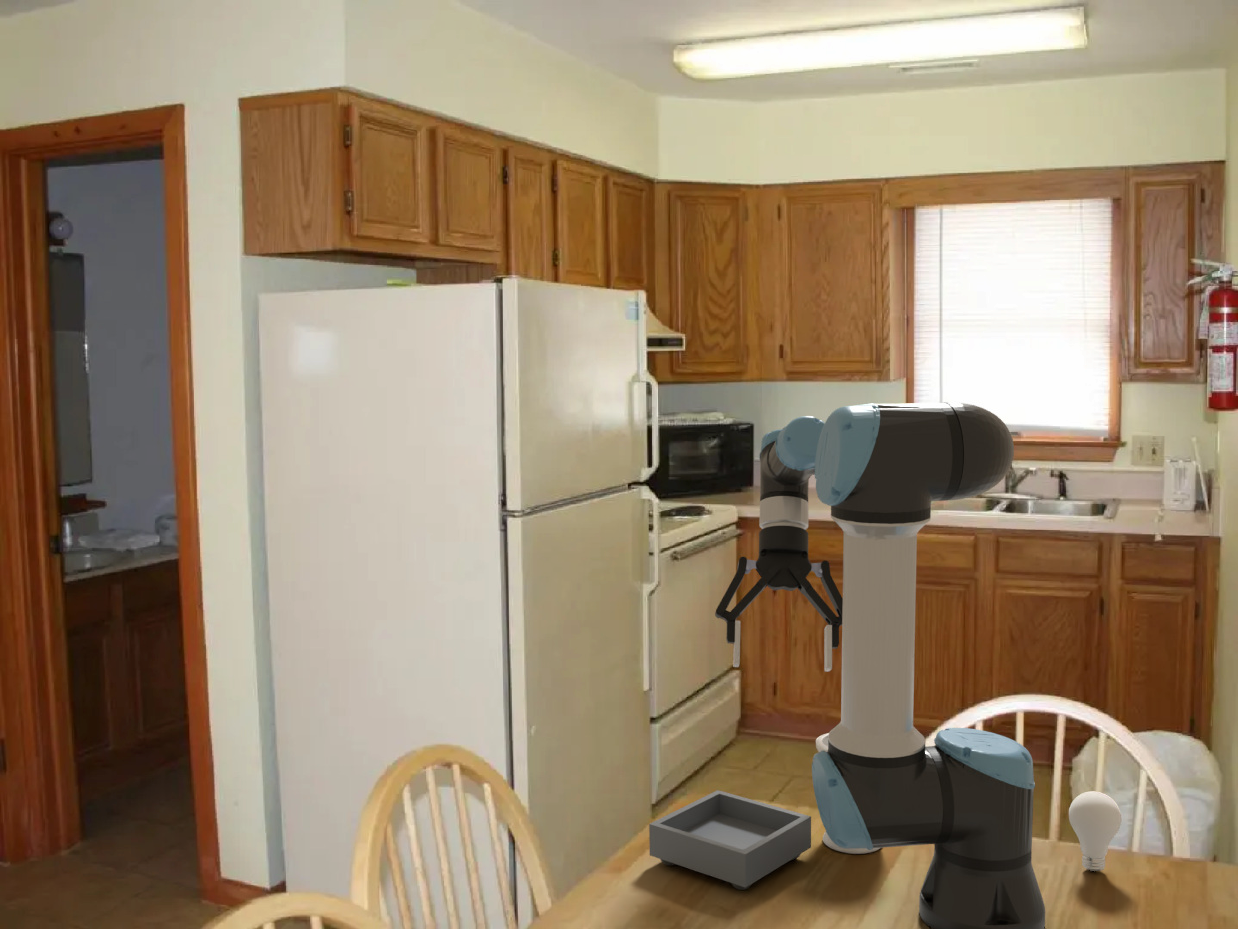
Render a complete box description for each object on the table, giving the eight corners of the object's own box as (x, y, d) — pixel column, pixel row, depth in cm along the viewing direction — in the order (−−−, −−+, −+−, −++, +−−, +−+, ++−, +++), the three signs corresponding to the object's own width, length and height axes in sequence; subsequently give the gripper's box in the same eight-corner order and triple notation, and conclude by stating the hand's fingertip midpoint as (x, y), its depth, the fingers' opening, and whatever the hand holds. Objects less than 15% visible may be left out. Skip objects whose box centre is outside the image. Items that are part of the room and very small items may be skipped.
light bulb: (1061, 874, 169) (1063, 795, 168) (1074, 857, 175) (1076, 780, 174) (1112, 886, 166) (1115, 806, 164) (1125, 868, 171) (1127, 790, 170)
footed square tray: (811, 858, 176) (811, 816, 175) (745, 898, 164) (745, 854, 163) (717, 829, 186) (717, 790, 185) (649, 865, 174) (649, 824, 173)
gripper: (861, 539, 197) (862, 675, 190) (701, 532, 198) (697, 667, 191) (869, 527, 190) (870, 668, 183) (703, 519, 190) (699, 659, 184)
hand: (782, 668), depth 187 cm, fingers open, 13 cm apart
